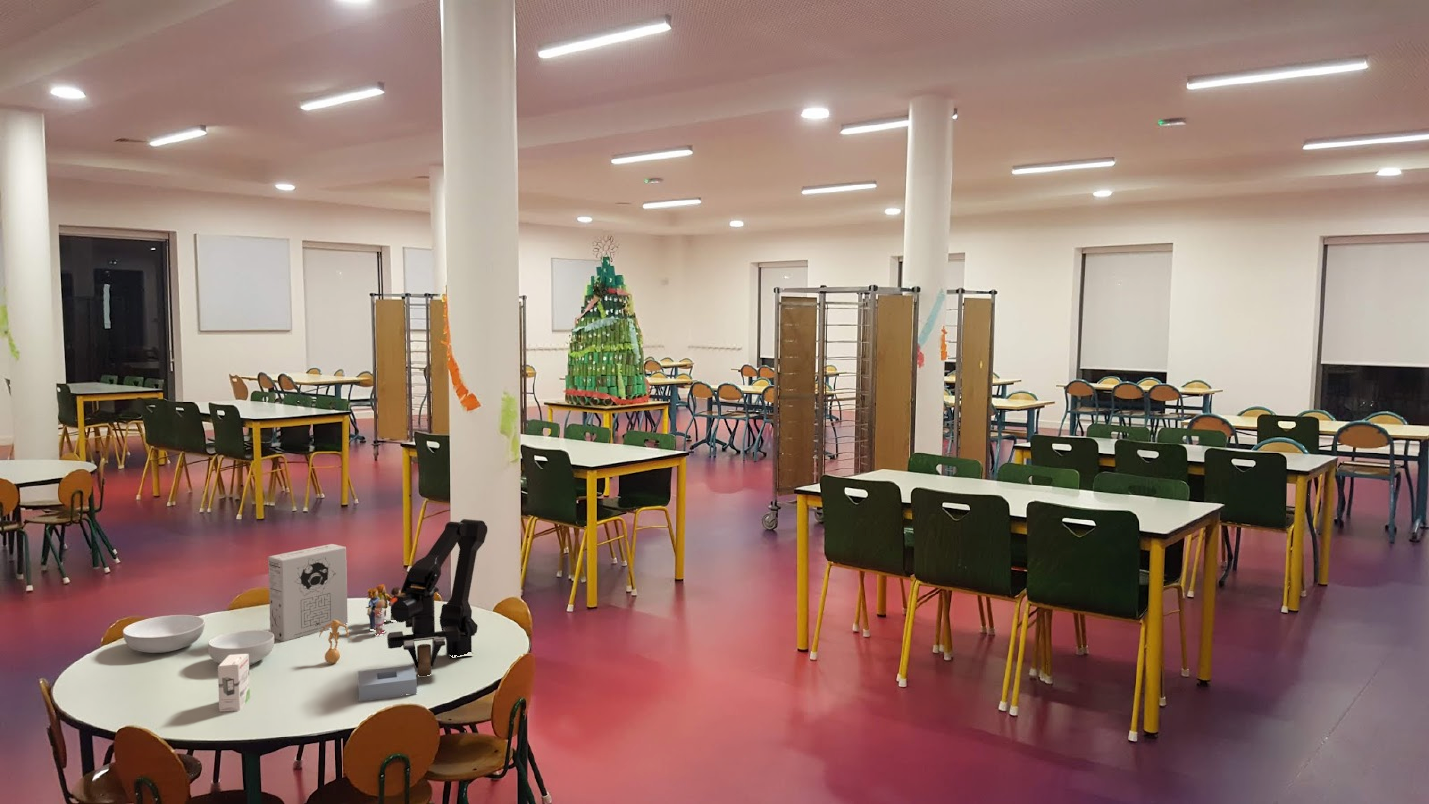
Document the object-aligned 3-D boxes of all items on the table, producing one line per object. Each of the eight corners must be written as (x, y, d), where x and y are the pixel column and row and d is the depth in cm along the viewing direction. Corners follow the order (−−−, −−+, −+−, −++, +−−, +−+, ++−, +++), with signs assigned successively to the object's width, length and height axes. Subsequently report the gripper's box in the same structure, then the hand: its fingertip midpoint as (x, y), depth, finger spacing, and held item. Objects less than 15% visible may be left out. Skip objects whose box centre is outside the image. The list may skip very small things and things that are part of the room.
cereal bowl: (284, 663, 268) (284, 638, 267) (222, 678, 256) (221, 652, 255) (260, 648, 279) (259, 625, 279) (199, 662, 267) (198, 638, 267)
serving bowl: (131, 666, 264) (130, 642, 264) (117, 646, 280) (116, 623, 279) (213, 649, 278) (213, 626, 277) (195, 632, 294) (195, 610, 293)
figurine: (314, 665, 266) (313, 623, 265) (323, 657, 272) (322, 616, 271) (344, 665, 266) (343, 623, 265) (352, 658, 272) (351, 617, 271)
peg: (430, 671, 262) (430, 643, 262) (431, 676, 259) (431, 647, 258) (417, 673, 261) (416, 644, 260) (418, 677, 258) (417, 649, 257)
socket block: (413, 679, 256) (413, 664, 256) (416, 694, 246) (416, 679, 246) (358, 686, 251) (357, 671, 251) (359, 701, 241) (358, 686, 241)
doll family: (381, 638, 289) (380, 596, 288) (350, 638, 289) (349, 595, 288) (405, 617, 310) (404, 577, 309) (375, 617, 310) (375, 577, 309)
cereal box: (334, 619, 307) (332, 543, 305) (348, 624, 303) (346, 546, 301) (269, 637, 290) (267, 556, 287) (283, 642, 285) (281, 560, 283)
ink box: (230, 698, 242) (228, 653, 241) (250, 697, 243) (249, 652, 242) (218, 712, 234) (217, 665, 233) (240, 711, 235) (238, 664, 234)
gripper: (455, 600, 269) (456, 653, 271) (385, 606, 262) (386, 661, 264) (460, 611, 259) (460, 667, 260) (387, 618, 252) (388, 675, 253)
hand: (424, 667), depth 260 cm, fingers closed on peg, 4 cm apart
